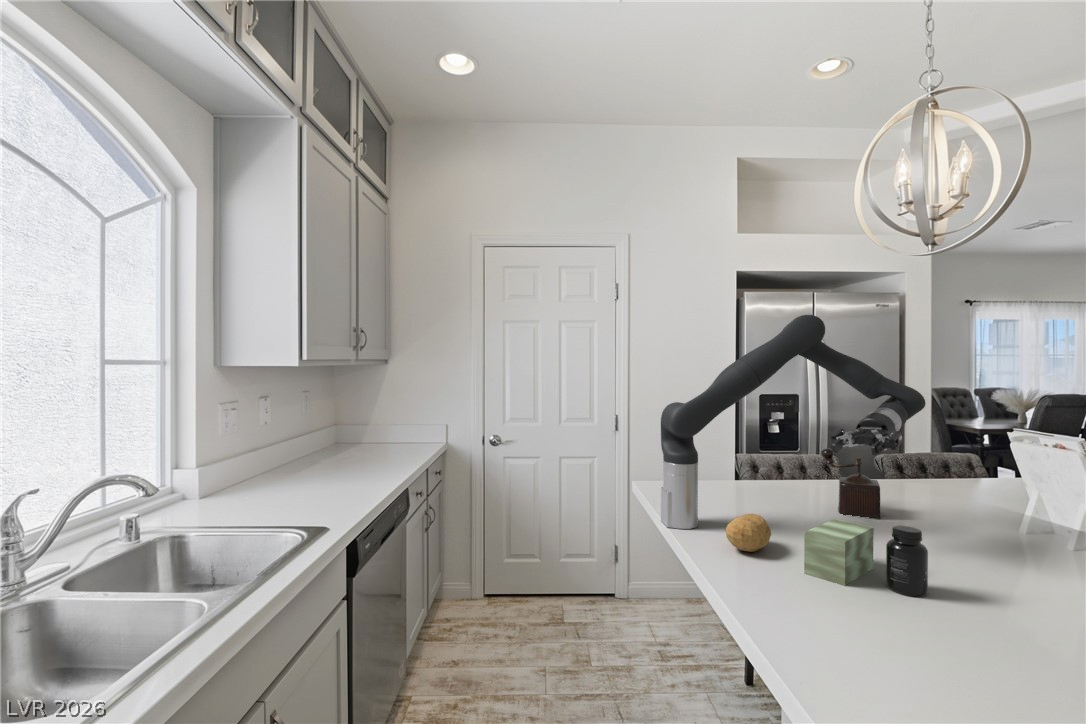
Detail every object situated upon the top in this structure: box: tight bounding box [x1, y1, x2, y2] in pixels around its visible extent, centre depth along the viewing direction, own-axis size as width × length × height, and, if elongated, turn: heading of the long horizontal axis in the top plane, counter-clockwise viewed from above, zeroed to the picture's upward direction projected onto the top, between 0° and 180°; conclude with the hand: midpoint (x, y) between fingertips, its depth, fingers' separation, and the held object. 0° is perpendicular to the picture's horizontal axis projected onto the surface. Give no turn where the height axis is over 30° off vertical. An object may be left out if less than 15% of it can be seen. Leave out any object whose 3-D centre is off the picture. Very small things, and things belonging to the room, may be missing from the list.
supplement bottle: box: [885, 525, 929, 597], centre depth 106 cm, size 7×7×12 cm
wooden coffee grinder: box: [819, 447, 881, 520], centre depth 162 cm, size 16×11×18 cm
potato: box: [725, 513, 772, 553], centre depth 129 cm, size 10×14×8 cm
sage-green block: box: [803, 518, 875, 587], centre depth 116 cm, size 15×8×9 cm, turn 130°
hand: (853, 450), depth 125 cm, fingers open, 8 cm apart
